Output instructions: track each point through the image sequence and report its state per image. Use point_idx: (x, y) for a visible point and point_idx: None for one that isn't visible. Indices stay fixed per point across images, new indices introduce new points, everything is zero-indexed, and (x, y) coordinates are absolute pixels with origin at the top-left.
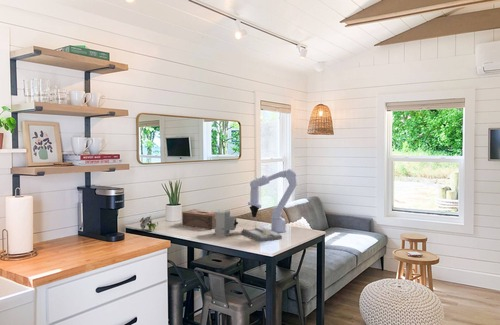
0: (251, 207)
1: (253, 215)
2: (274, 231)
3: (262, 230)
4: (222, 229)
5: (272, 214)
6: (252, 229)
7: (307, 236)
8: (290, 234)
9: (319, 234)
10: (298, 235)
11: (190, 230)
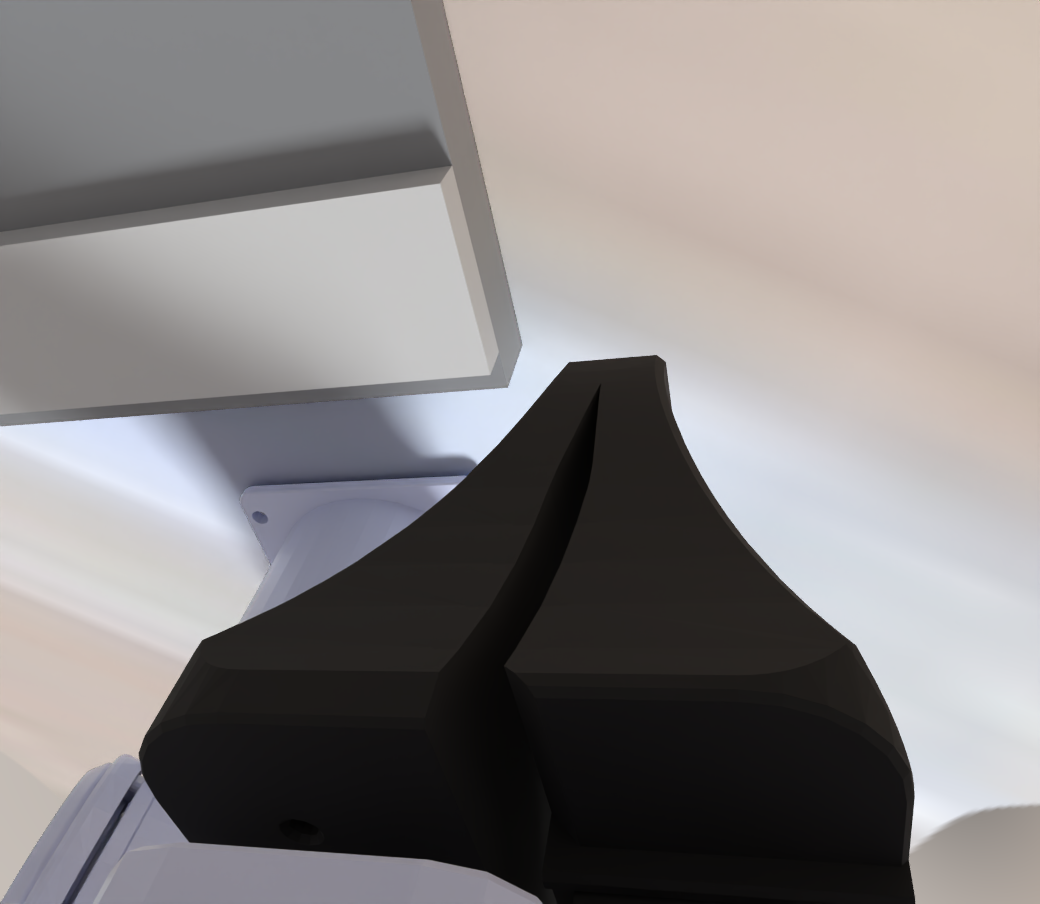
0: (345, 686)
1: (540, 406)
2: (299, 519)
3: (49, 237)
4: None
5: (36, 849)
6: (369, 37)
7: (50, 745)
8: (161, 646)
9: None
10: (100, 695)
11: None
